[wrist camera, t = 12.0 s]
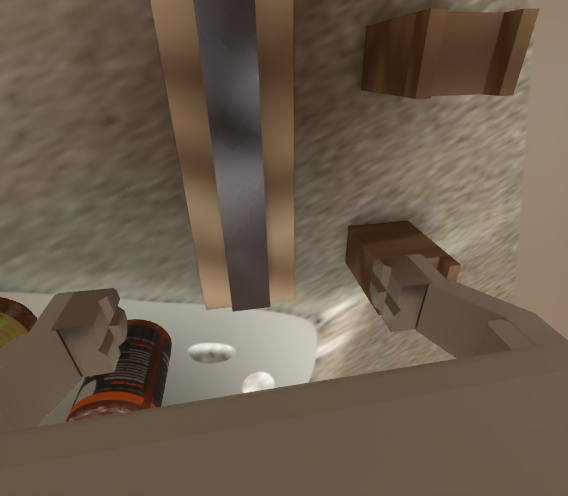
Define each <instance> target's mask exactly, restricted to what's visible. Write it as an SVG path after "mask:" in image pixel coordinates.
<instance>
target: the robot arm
mask: <svg viewBox="0 0 568 496" xmlns="http://www.w3.org/2000/svg"><path fill="white" fill-rule="evenodd" d="M373 272H374V273H375V274H376V275H375V277H374V278H373V279H372V280H371V283H370V295H371V299H372V302H373V304H374V306H375V307H376V308H377V309H379V310H380V311H382V312H383V313H382V319H383V320H384V322H385V323H386V325H387V327H388V328H389V330H390V331H391V332H396V331H404V330H413V329H416V331H418V332H419V333H421V334H422V335H423V336H425V337H426V338H428V339H429V340H431V341H432V342H434V343H435V344H437V345H438V346H440V347H441V348H442V349H444V350H445V351H447V352H448V353H450V354H451V355H453V356H454V357H456V358H457V359H453V360H447V361H440V362H434V363H428V364H422V365H416V366H410V367H404V368H398V369H391V370H385V371H379V372H373V373H366V374H360V375H354V376H348V377H341V378H335V379H329V380H323V381H316V382H310V383H304V384H298V385H292V386H286V387H279V388H273V389H267V390H261V391H255V392H249V393H242V394H236V395H230V396H224V397H218V398H212V399H205V400H200V401H194V402H187V403H181V404H175V405H168V406H162V407H156V408H150V409H144V410H137V411H131V412H125V413H119V414H113V415H107V416H100V417H94V418H88V419H82V420H76V421H69V422H63V423H57V424H51V425H45V426H39V427H37V425H38V424H39V423H40V422H41V421H42V420H43V419H44V418H45V417H46V416H47V415H48V414H49V413H50V412H51V411H52V410H53V409H54V408H55V407H56V406H57V405H58V404H59V402H60V401H61V400H62V399H63V398H64V397H65V396H66V395H67V394H68V393H69V392H70V391H71V390H72V389H73V388H74V387H75V386H76V385H77V384H78V383H79V382H80V381H81V380H82V377H88V376H94V375H99V374H105V373H111V372H114V371H115V368H116V365H117V362H118V359H119V356H120V354H121V353H120V350H119V348H118V347H119V346H120V345H121V344H122V343H123V342H124V341H125V338H126V335H127V325H128V324H127V318H126V314H125V311H124V310H123V309H121V308H120V307H118V306H117V305H118V303H119V300H120V298H119V295H118V293H117V291H116V290H115V289H113V288H110V289H99V290H88V291H78V292H67V293H59V294H57V295H55V296H54V297H53V298H52V300H51V301H50V303H49V304H48V306H47V307H46V308H45V310H44V311H43V313H42V314H41V316H40V317H39V319H38V320H37V321H36V323H35V324H34V326H33V327H32V328H31V330H30V331H29V333H28V334H22V335H20V336H18V337H17V338H15V339H14V340H12V341H11V342H9V343H7V344H6V345H4V346H3V347H1V348H0V496H568V340H567V339H565V338H564V337H563V336H562V335H561V334H559V333H558V332H557V331H555V330H554V329H553V328H552V327H551V326H550V325H548V324H547V323H546V322H545V321H543V320H542V319H541V318H540V317H539V316H537V315H536V314H535V313H532V312H530V311H527V310H525V309H523V308H520V307H517V306H515V305H512V304H510V303H507V302H505V301H502V300H500V299H497V298H495V297H492V296H490V295H487V294H485V293H482V292H480V291H477V290H475V289H472V288H470V287H467V286H465V285H462V284H460V283H457V282H455V281H448V280H447V279H446V278H445V277H444V276H443V275H442V274H441V273H440V272H439V271H438V270H437V269H436V268H435V267H434V266H433V265H432V264H431V263H430V262H429V261H428V260H427V259H426V258H425V257H424V256H423V255H420V254H414V255H407V256H402V257H394V258H386V259H377V260H375V262H374V264H373Z"/></svg>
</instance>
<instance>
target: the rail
mask: <svg viewBox="0 0 568 496" xmlns="http://www.w3.org/2000/svg"><path fill="white" fill-rule="evenodd" d="M193 3H194V11H195V19H196V27H197V34H198V42H199V50H200V58H201V66H202V74H203V82H204V90H205V97H206V105H207V113H208V121H209V129H210V137H211V145H212V152H213V160H214V168H215V176H216V184H217V192H218V200H219V208H220V215H221V223H222V231H223V239H224V247H225V255H226V263H227V271H228V278H229V286H230V294H231V302H232V310H233V311H240V310H249V309H257V308H265V307H270V289H269V269H268V249H267V229H266V209H265V190H264V170H263V150H262V130H261V110H260V90H259V70H258V50H257V31H256V11H255V0H193Z"/></svg>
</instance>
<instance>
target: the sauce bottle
mask: <svg viewBox="0 0 568 496" xmlns="http://www.w3.org/2000/svg"><path fill="white" fill-rule="evenodd" d="M36 321H37V317H35V316H34V315H33V313H32V312H31V311H30V310H29V309H28V308H27V307H25V306H24V305H22V304H20V303H17V302H16V301H13V300H9V299H7V298H1V297H0V348H1V347H3V346H4V345H6V344H7V343H9V342H11V341H12V340H14V339H15V338H17V337H18V336H20V335H22V334H28V333H29V331H30V330H31V328H32V327H33V326H34V324H35V323H36Z"/></svg>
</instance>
